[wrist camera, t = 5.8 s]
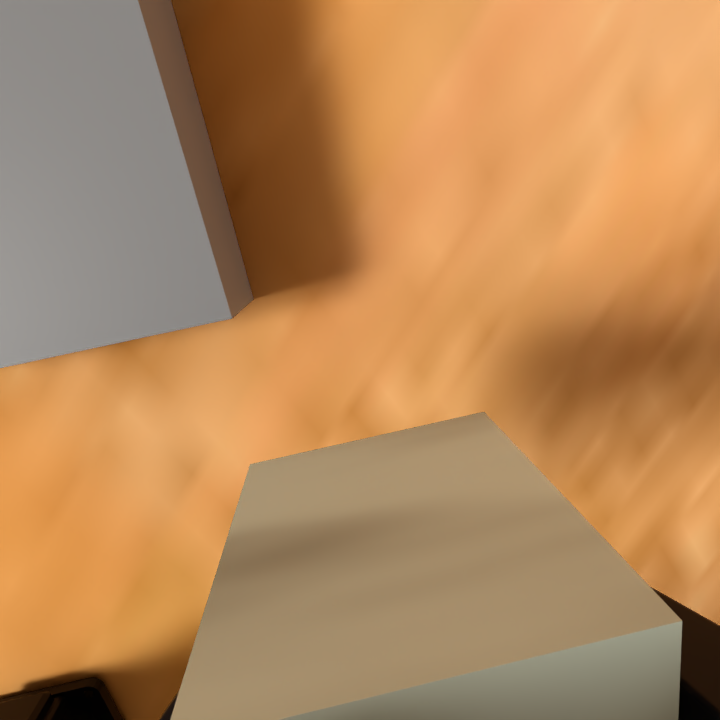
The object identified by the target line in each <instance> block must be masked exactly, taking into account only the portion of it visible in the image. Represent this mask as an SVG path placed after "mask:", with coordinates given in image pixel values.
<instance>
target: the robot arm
mask: <svg viewBox="0 0 720 720" xmlns="http://www.w3.org/2000/svg"><path fill="white" fill-rule="evenodd" d="M651 588H652V587H651ZM652 589H653V590H654V592H655V593H656V594H657V595H658V596H659V597H660V598H661V599H662V600H663V601H664V602H665V603H666V604H667V605H668V606H669V607H670V608H671V609H672V610H673V612H674V613H675V614H676V615H677V616H678V617H679V618H680V619H681V620H682V641H681V666H680V690H679V714H678V720H720V626H719V625H717V624H716V623H714V622H712V621H710V620H709V619H707V618H705V617H703V616H701V615H700V614H698V613H696V612H694V611H693V610H691V609H689V608H687V607H685V606H684V605H682V604H680V603H678V602H677V601H675V600H673V599H671V598H669V597H668V596H666V595H664V594H662V593H661V592H659V591H657V590H655V589H654V588H652ZM178 693H179V691H178ZM178 693H177V694H176V696H175V697H174V699H173V700H172V702H171V703H170V704H169V706H168V707H167V709H166V710H165V712H164V713H163V715H162V716H161V717H160V719H159V720H170V719H171V716H172V712H173V709H174V706H175V703H176V700H177V696H178ZM0 720H123V719H122V717H121V715H120V713H119V711H118V709H117V707H116V706H115V704H114V702H113V700H112V698H111V696H110V694H109V692H108V690H107V689H106V687H105V685H104V683H103V682H102V681H101V680H100V679H97V678H88V679H84V680H79V681H75V682H71V683H67V684H63V685H58V686H54V687H50V688H46V689H42V690H38V691H33V692H29V693H25V694H21V695H17V696H12V697H8V698H4V699H0Z"/></svg>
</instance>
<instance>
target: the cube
mask: <svg viewBox="0 0 720 720" xmlns="http://www.w3.org/2000/svg"><path fill="white" fill-rule="evenodd" d="M681 641H682V620H681V619H680V618H679V617H678V616H677V615H676V614H675V613H674V612H673V610H672V609H671V608H670V607H669V606H668V605H667V604H666V603H665V602H664V601H663V600H662V599H661V598H660V597H659V596H658V595H657V594H656V593H655V592H654V590H653V589H652V588H651V587H650V586H649V585H648V584H647V583H646V582H645V581H644V580H643V579H642V578H641V577H640V576H639V575H638V574H637V573H636V571H635V570H634V569H633V568H632V567H631V566H630V565H629V564H628V563H627V562H626V561H625V560H624V559H623V558H622V557H621V556H620V555H619V554H618V553H617V551H616V550H615V549H614V548H613V547H612V546H611V545H610V544H609V543H608V542H607V541H606V540H605V539H604V538H603V537H602V536H601V535H600V534H599V533H598V531H597V530H596V529H595V528H594V527H593V526H592V525H591V524H590V523H589V522H588V521H587V520H586V519H585V518H584V517H583V516H582V515H581V514H580V512H579V511H578V510H577V509H576V508H575V507H574V506H573V505H572V504H571V503H570V502H569V501H568V500H567V499H566V498H565V497H564V496H563V495H562V494H561V492H560V491H559V490H558V489H557V488H556V487H555V486H554V485H553V484H552V483H551V482H550V481H549V480H548V479H547V478H546V477H545V476H544V475H543V473H542V472H541V471H540V470H539V469H538V468H537V467H536V466H535V465H534V464H533V463H532V462H531V461H530V460H529V459H528V458H527V457H526V456H525V455H524V453H523V452H522V451H521V450H520V449H519V448H518V447H517V446H516V445H515V444H514V443H513V442H512V441H511V440H510V439H509V438H508V437H507V436H506V435H505V433H504V432H503V431H502V430H501V429H500V428H499V427H498V426H497V425H496V424H495V423H494V422H493V421H492V420H491V419H490V418H489V417H488V416H487V414H486V413H485V412H481V413H476V414H472V415H468V416H463V417H459V418H454V419H450V420H445V421H441V422H436V423H432V424H428V425H423V426H419V427H414V428H410V429H405V430H401V431H396V432H392V433H387V434H383V435H379V436H374V437H370V438H365V439H361V440H356V441H352V442H347V443H343V444H339V445H334V446H330V447H325V448H321V449H316V450H312V451H307V452H303V453H299V454H294V455H290V456H285V457H281V458H276V459H272V460H267V461H263V462H258V463H254V464H250V466H249V470H248V473H247V476H246V479H245V482H244V486H243V489H242V492H241V495H240V498H239V502H238V505H237V508H236V511H235V514H234V518H233V521H232V524H231V527H230V530H229V534H228V537H227V540H226V543H225V546H224V550H223V553H222V556H221V559H220V562H219V566H218V569H217V572H216V575H215V578H214V581H213V585H212V588H211V591H210V594H209V597H208V601H207V604H206V607H205V610H204V613H203V617H202V620H201V623H200V626H199V629H198V633H197V636H196V639H195V642H194V645H193V649H192V652H191V655H190V658H189V661H188V665H187V668H186V671H185V674H184V677H183V680H182V684H181V687H180V690H179V693H178V696H177V700H176V703H175V706H174V709H173V712H172V716H171V719H170V720H678V714H679V690H680V666H681Z"/></svg>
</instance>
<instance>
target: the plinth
mask: <svg viewBox="0 0 720 720" xmlns="http://www.w3.org/2000/svg"><path fill="white" fill-rule="evenodd" d="M252 300H253V295H252V291H251V288H250V284H249V281H248V277H247V273H246V270H245V266H244V262H243V259H242V255H241V252H240V248H239V244H238V241H237V237H236V234H235V230H234V226H233V223H232V219H231V215H230V212H229V208H228V205H227V201H226V197H225V194H224V190H223V187H222V183H221V179H220V176H219V172H218V168H217V165H216V161H215V158H214V154H213V150H212V147H211V143H210V140H209V136H208V132H207V129H206V125H205V121H204V118H203V114H202V111H201V107H200V103H199V100H198V96H197V93H196V89H195V85H194V82H193V78H192V74H191V71H190V67H189V64H188V60H187V56H186V53H185V49H184V46H183V42H182V38H181V35H180V31H179V27H178V24H177V20H176V17H175V13H174V9H173V6H172V2H171V0H0V368H3V367H8V366H13V365H17V364H22V363H27V362H31V361H36V360H41V359H45V358H50V357H55V356H59V355H64V354H69V353H73V352H78V351H83V350H87V349H92V348H97V347H101V346H106V345H111V344H115V343H120V342H125V341H129V340H134V339H139V338H143V337H148V336H153V335H157V334H162V333H167V332H171V331H176V330H181V329H185V328H190V327H195V326H199V325H204V324H209V323H213V322H218V321H223V320H227V319H232V318H233V317H234V316H236V315H237V314H238V313H239V312H240V311H241V310H242V309H243V308H244V307H246V306H247V305H248V304H249V303H250V302H251V301H252Z"/></svg>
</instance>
